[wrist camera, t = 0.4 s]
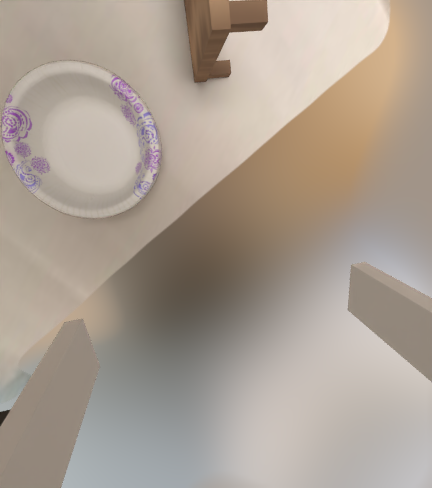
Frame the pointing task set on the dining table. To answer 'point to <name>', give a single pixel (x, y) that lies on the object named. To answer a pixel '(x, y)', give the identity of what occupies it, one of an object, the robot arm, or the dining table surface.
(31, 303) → the dining table surface
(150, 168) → the paper bowls
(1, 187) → the dining table surface
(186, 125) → the dining table surface
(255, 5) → the footstool
